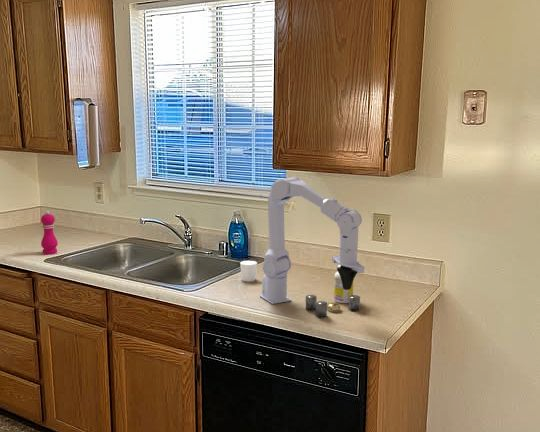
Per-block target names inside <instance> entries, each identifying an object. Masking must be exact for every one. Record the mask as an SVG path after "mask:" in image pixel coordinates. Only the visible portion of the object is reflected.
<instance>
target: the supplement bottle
mask: <svg viewBox="0 0 540 432" xmlns="http://www.w3.org/2000/svg"><path fill="white" fill-rule="evenodd" d="M340 266H341V265H339V264H337V268H338V267H340ZM333 277H334V284H333V285H334V287H333V300H334V301H335V303H338V304H349V296H351V295H354V282H353V283H352V286H351V289H349V290H345V289H343V285H342V281H341V277H340V275H339V272H338V271H336V272H335V273H334V276H333Z"/></svg>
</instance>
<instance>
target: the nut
mask: <svg viewBox="0 0 540 432" xmlns="http://www.w3.org/2000/svg"><path fill="white" fill-rule="evenodd" d="M340 311H341V303H339V302H327V312H330V313H338V312H340Z"/></svg>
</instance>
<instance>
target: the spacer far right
mask: <svg viewBox="0 0 540 432" xmlns="http://www.w3.org/2000/svg"><path fill="white" fill-rule="evenodd" d="M327 304H328V302H327V301H323V300H320V301H316V310H315V317H316V318H318V319H319V318H320V319H326V318H327V316H328V311H327ZM325 317H326V318H325Z"/></svg>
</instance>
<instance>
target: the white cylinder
mask: <svg viewBox="0 0 540 432" xmlns="http://www.w3.org/2000/svg"><path fill="white" fill-rule="evenodd" d="M239 264H240V277H241V281H243V282H249V283H250V282H254V281H256V278H257V268H258V262H257V261H255V260H242V261H240V262H239Z"/></svg>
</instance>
